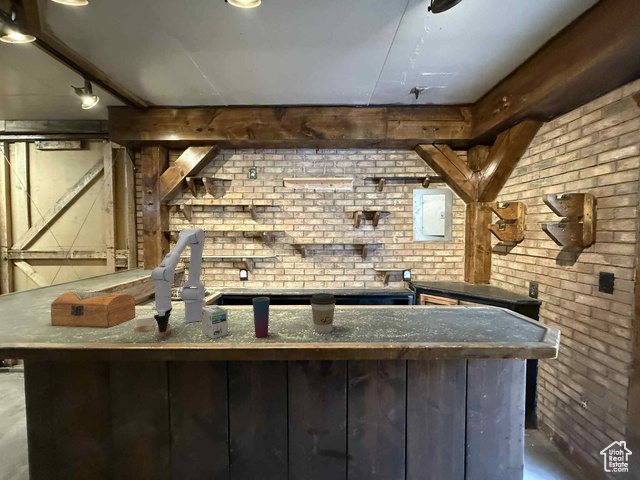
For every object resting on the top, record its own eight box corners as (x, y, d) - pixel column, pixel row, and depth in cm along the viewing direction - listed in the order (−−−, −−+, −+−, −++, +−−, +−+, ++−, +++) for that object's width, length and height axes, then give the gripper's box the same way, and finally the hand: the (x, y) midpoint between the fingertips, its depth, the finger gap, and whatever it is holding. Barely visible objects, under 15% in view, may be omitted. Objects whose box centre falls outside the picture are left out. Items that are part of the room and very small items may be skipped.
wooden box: (47, 326, 122) (46, 296, 122) (84, 315, 139) (83, 289, 138) (105, 329, 118) (104, 298, 117) (136, 318, 134) (135, 290, 134)
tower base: (155, 326, 122) (155, 320, 122) (153, 331, 116) (153, 324, 116) (137, 329, 119) (136, 322, 119) (134, 334, 113) (133, 327, 113)
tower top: (154, 320, 122) (154, 313, 121) (153, 324, 116) (152, 317, 116) (138, 322, 119) (138, 315, 119) (136, 326, 114) (136, 319, 113)
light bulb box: (228, 334, 111) (228, 308, 110) (212, 339, 106) (211, 312, 106) (217, 328, 118) (216, 304, 118) (201, 332, 113) (201, 307, 113)
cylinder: (170, 332, 114) (170, 322, 114) (169, 335, 110) (169, 326, 110) (158, 334, 112) (158, 324, 112) (157, 337, 108) (157, 327, 108)
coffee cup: (317, 337, 107) (317, 300, 107) (305, 328, 117) (305, 294, 117) (341, 332, 112) (341, 296, 112) (328, 324, 122) (328, 291, 122)
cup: (266, 339, 105) (265, 301, 105) (250, 338, 107) (249, 300, 106) (272, 333, 112) (272, 297, 112) (257, 332, 113) (256, 296, 113)
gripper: (154, 293, 115) (154, 324, 116) (149, 300, 102) (150, 336, 103) (172, 291, 118) (173, 322, 119) (170, 298, 105) (171, 333, 106)
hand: (163, 328), depth 111 cm, fingers open, 7 cm apart
